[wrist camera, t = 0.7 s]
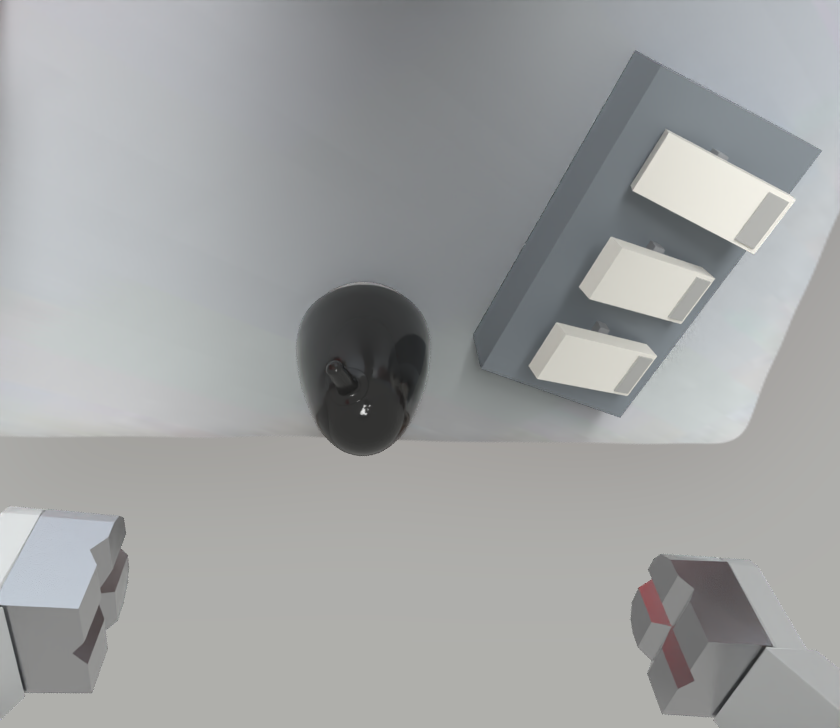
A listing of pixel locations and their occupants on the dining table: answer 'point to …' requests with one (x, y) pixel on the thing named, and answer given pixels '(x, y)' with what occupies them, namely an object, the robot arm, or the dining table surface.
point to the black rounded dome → (363, 365)
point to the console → (626, 223)
